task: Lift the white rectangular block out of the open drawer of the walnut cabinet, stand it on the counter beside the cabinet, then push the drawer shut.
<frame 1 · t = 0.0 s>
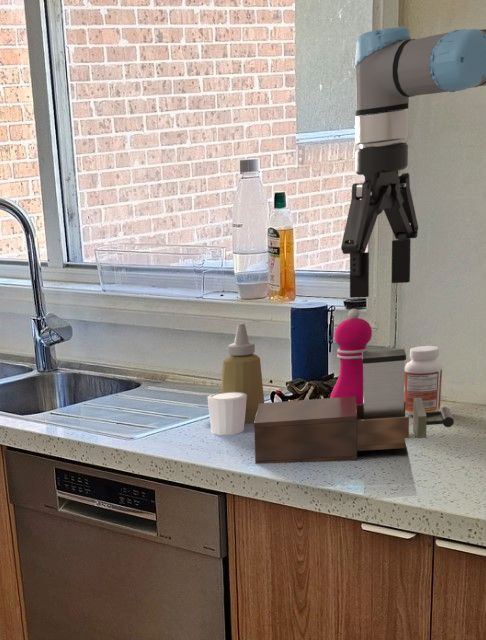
hand: (380, 289, 192), 24 cm above the countertop, tool pointing down, fingers open, 13 cm apart
cabinet: (306, 452, 201), on the countertop
drawer: (389, 425, 196), point 4 cm above the countertop, slide at 9.0 cm, touching white rectangular block
white rectangular block: (382, 435, 196), point 2 cm above the countertop, touching drawer
pepper mill: (350, 428, 212), on the countertop
squeeze bottle: (241, 424, 225), on the countertop
white tapered cup: (227, 435, 219), on the countertop
pill bottle: (421, 413, 215), on the countertop
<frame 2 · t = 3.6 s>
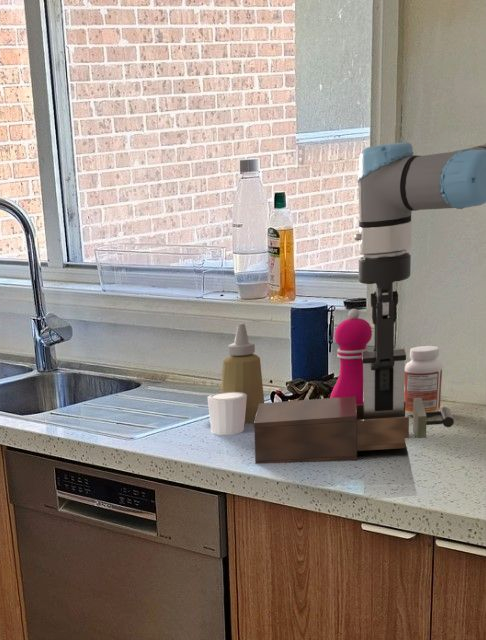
hand: (383, 405, 195), 7 cm above the countertop, tool pointing down, fingers closed on white rectangular block, 5 cm apart
white rectangular block: (383, 435, 196), point 2 cm above the countertop, touching drawer, gripper
everything else where it was.
when the fingers open (5 cm above the countertop, at t = 11.3 s): white rectangular block stays where it is, on the countertop.
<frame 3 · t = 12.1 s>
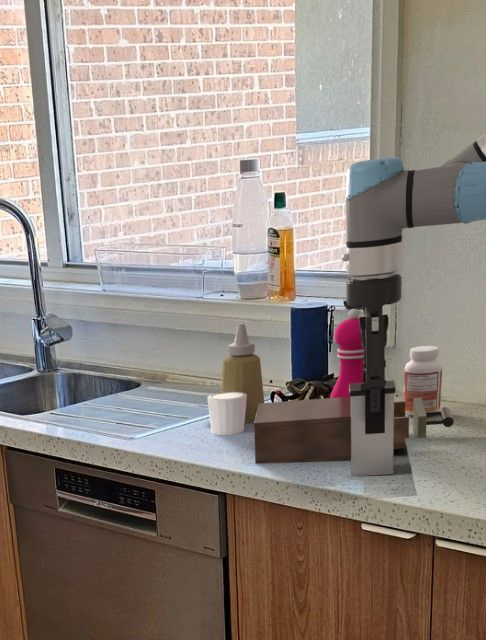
hand: (373, 422, 183), 7 cm above the countertop, tool pointing down, fingers open, 13 cm apart
drawer: (389, 425, 196), point 4 cm above the countertop, slide at 9.0 cm
white rectangular block: (371, 471, 186), on the countertop
everything else where it was.
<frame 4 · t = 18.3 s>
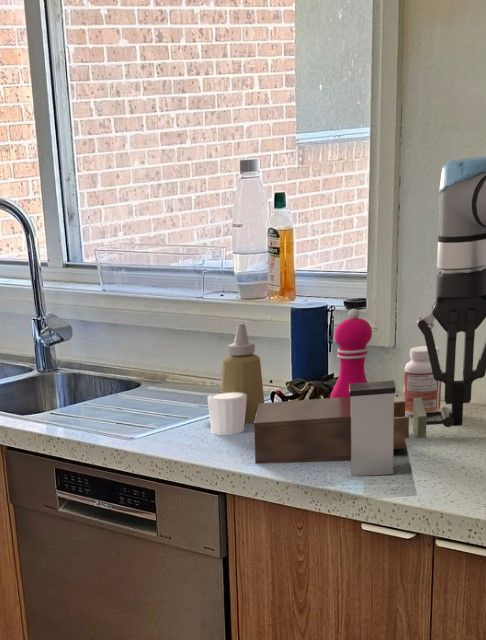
hand: (456, 423, 193), 3 cm above the countertop, tool pointing down, fingers closed
drawer: (389, 425, 196), point 4 cm above the countertop, slide at 9.0 cm, touching gripper
everything else where it was.
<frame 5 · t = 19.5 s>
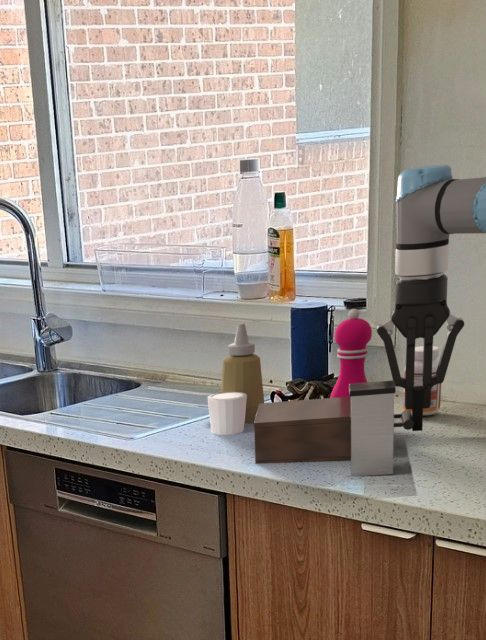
hand: (417, 428, 195), 3 cm above the countertop, tool pointing down, fingers closed
drawer: (350, 427, 197), point 4 cm above the countertop, slide at 3.1 cm, touching gripper
everything else where it was.
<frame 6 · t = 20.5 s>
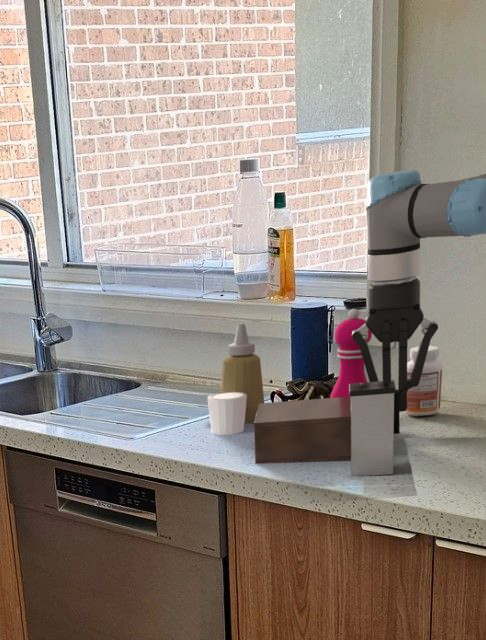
hand: (395, 431, 196), 2 cm above the countertop, tool pointing down, fingers closed
drawer: (330, 429, 198), point 4 cm above the countertop, slide at 0.0 cm, touching cabinet, gripper
everything else where it was.
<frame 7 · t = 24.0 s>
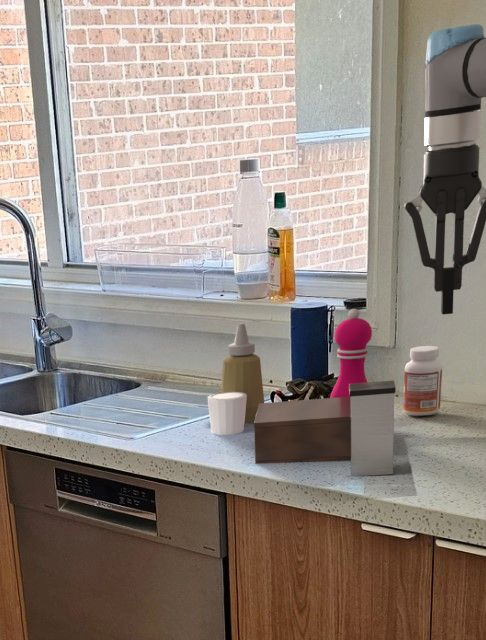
hand: (446, 312, 186), 20 cm above the countertop, tool pointing down, fingers closed
drawer: (330, 429, 198), point 4 cm above the countertop, slide at 0.0 cm, touching cabinet
everything else where it was.
at the end: white rectangular block inside the target area (0.2 cm from its centre), on the countertop; white rectangular block tilted 0°; drawer slide at 0.0 cm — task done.
